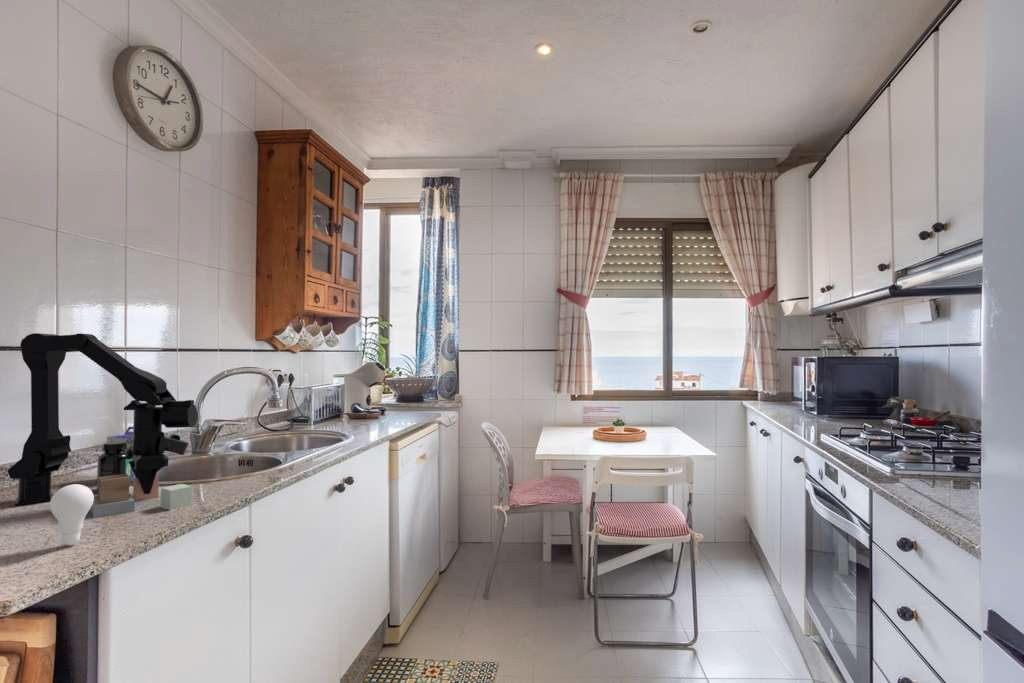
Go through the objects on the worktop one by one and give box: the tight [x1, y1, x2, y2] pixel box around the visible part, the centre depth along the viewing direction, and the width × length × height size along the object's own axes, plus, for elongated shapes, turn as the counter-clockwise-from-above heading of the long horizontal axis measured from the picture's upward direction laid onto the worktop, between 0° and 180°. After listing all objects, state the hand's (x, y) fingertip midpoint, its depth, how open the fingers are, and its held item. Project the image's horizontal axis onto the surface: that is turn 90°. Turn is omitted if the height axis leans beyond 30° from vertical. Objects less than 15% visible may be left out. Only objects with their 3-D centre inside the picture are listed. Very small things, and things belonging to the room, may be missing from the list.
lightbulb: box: [49, 483, 95, 547], centre depth 93 cm, size 6×6×11 cm
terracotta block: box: [132, 475, 160, 501], centre depth 125 cm, size 4×4×4 cm
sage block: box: [160, 483, 193, 511], centre depth 118 cm, size 4×4×4 cm
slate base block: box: [90, 493, 136, 519], centre depth 114 cm, size 7×7×3 cm
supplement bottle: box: [96, 441, 131, 492], centre depth 132 cm, size 7×7×12 cm
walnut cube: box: [97, 474, 130, 504], centre depth 114 cm, size 5×5×5 cm
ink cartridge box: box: [105, 426, 136, 483], centre depth 143 cm, size 10×6×14 cm, turn 78°
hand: (145, 491), depth 125 cm, fingers closed on terracotta block, 4 cm apart
